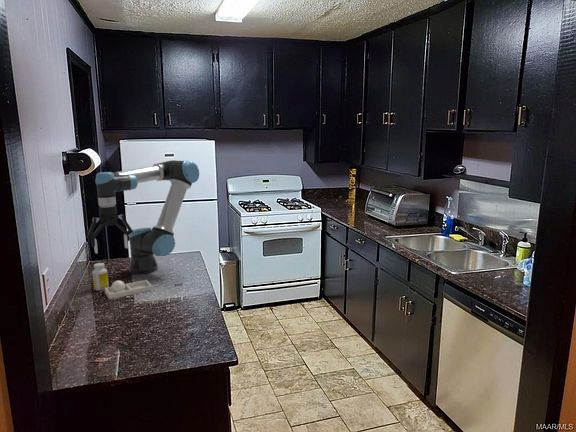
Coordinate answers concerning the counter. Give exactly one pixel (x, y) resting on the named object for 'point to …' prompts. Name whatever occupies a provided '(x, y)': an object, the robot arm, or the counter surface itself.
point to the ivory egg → (118, 286)
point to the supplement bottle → (100, 277)
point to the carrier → (130, 289)
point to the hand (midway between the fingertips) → (111, 250)
